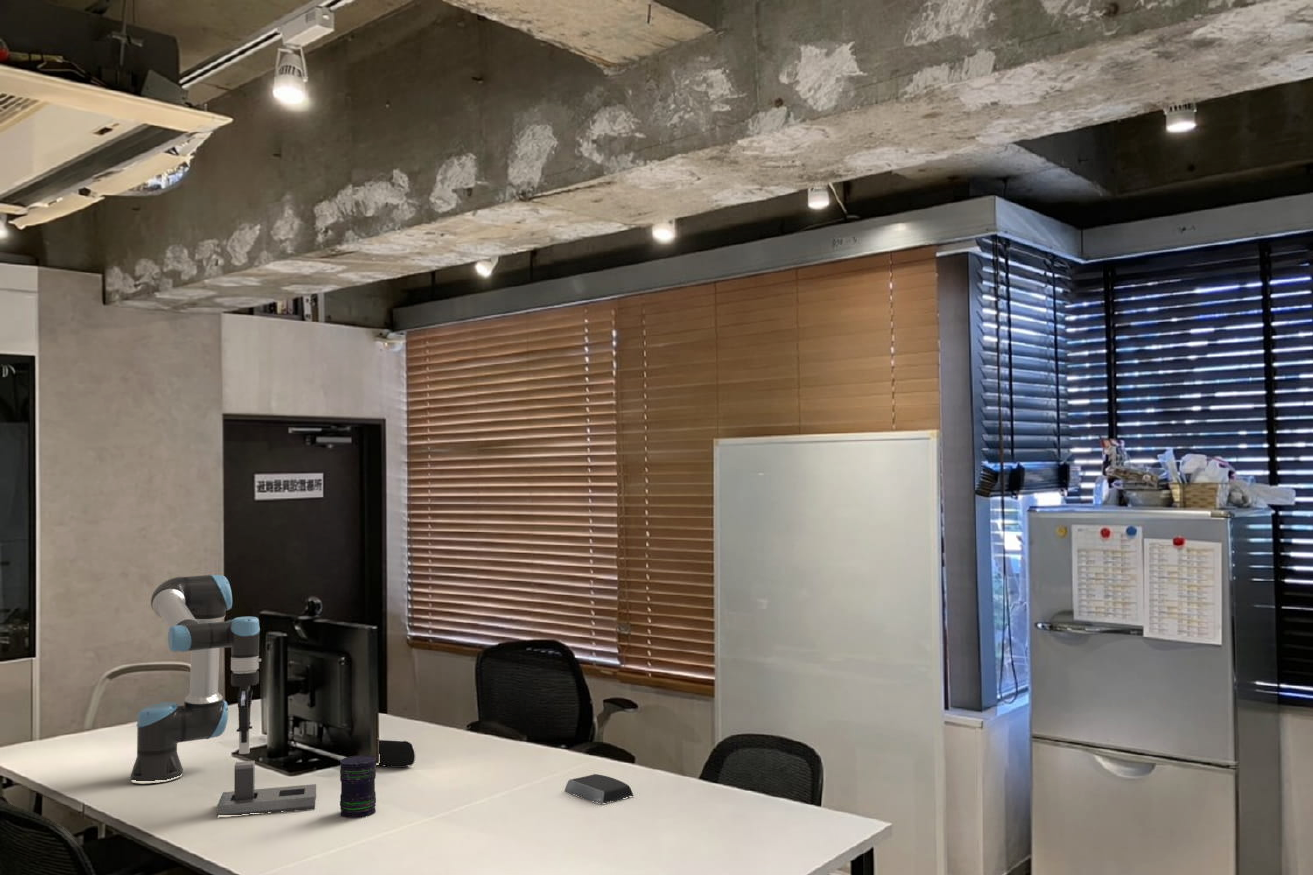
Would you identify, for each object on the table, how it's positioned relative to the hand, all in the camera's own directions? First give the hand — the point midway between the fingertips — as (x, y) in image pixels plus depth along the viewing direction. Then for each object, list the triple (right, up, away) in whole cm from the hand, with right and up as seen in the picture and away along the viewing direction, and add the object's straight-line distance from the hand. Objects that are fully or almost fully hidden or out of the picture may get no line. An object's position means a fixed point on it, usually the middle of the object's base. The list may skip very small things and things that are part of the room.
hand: (244, 752), depth 302 cm
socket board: (+7, -16, +1) cm, 17 cm away
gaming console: (+31, -18, +44) cm, 56 cm away
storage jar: (+35, -15, -7) cm, 39 cm away
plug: (+1, -15, -1) cm, 15 cm away
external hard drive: (+102, -15, +9) cm, 104 cm away
